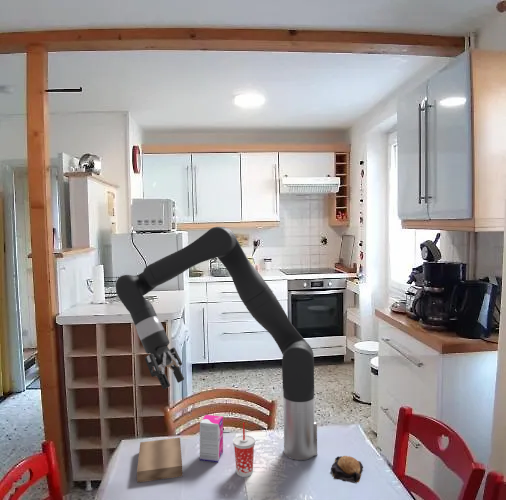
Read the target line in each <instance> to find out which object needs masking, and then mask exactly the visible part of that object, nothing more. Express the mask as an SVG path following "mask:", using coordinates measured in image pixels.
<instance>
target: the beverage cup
mask: <svg viewBox="0 0 506 500" xmlns="http://www.w3.org/2000/svg"><path fill="white" fill-rule="evenodd" d="M245 426H246V425H245V422H242V435H241V434H240V435H238V436H236V437H234V438H233V440H232V444H233V447H234V448H233V449H234V458H235V459H234V460H235V473H236V474H237V475H238V476H239V477H243V478H245V477H246V478H247V477H249V476H251V475H252V474H253V473H254V454H255V445H256V444H255V442H256V439H255V437H254V436H251V435H248V434H246V432H245V431H246V429H245Z"/></svg>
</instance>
